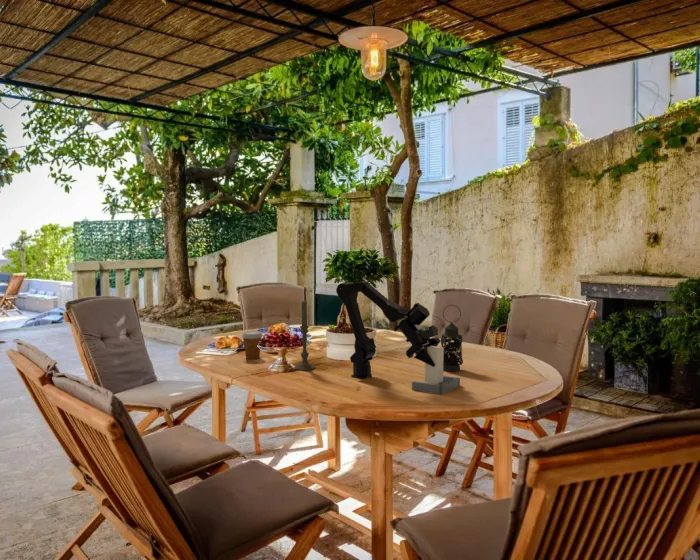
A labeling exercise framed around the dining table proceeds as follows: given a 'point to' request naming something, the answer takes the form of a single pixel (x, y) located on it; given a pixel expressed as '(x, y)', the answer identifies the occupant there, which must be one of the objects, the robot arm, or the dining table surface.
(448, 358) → the lantern
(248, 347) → the disposable coffee cup
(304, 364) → the candlestick holder
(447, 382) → the frame
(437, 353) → the post
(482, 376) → the dining table surface
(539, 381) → the dining table surface
